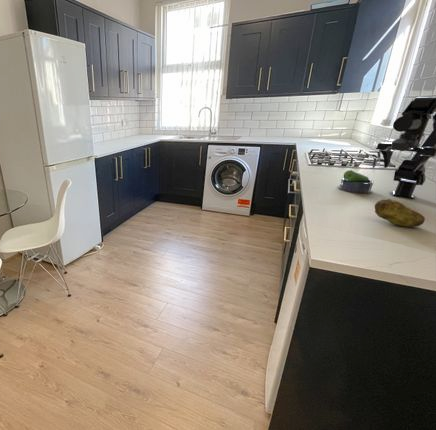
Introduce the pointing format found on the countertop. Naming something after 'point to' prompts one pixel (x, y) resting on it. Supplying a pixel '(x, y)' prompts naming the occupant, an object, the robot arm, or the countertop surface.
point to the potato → (398, 213)
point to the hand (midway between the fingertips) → (398, 169)
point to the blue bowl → (355, 186)
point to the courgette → (355, 177)
